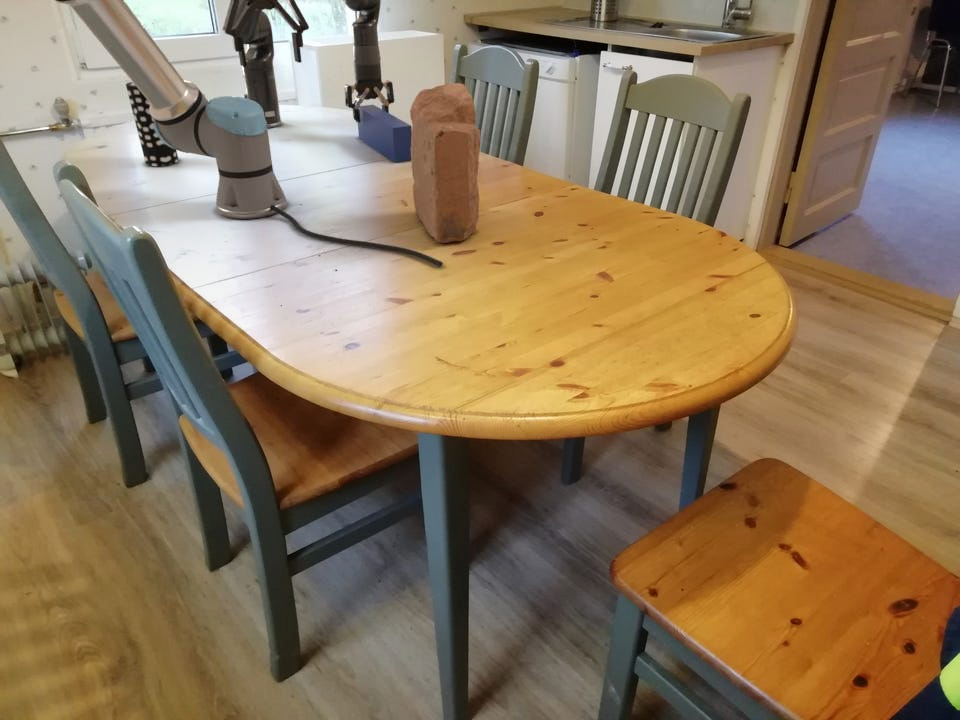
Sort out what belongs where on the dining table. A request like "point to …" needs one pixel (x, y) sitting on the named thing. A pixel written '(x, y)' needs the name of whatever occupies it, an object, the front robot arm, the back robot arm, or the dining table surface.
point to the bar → (385, 133)
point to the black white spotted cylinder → (149, 131)
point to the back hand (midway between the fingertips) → (371, 120)
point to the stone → (445, 161)
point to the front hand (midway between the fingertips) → (271, 64)
